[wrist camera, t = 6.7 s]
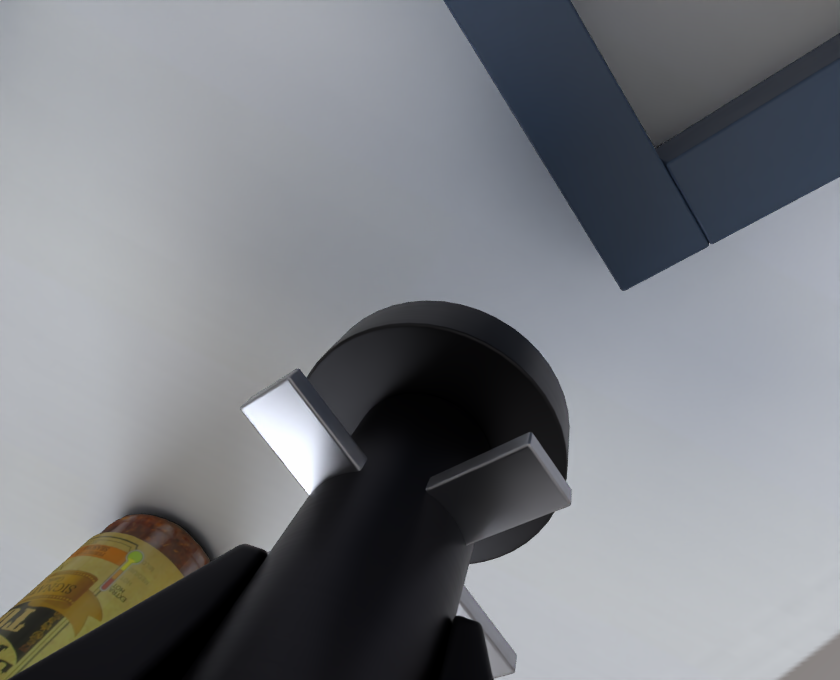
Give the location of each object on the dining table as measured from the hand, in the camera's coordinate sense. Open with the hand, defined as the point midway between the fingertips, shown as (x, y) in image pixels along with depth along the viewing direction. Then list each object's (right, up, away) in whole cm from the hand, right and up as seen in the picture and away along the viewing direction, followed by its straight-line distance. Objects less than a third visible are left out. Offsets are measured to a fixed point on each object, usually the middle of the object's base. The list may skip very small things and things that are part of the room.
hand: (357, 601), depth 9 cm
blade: (+1, +2, +5) cm, 6 cm away
